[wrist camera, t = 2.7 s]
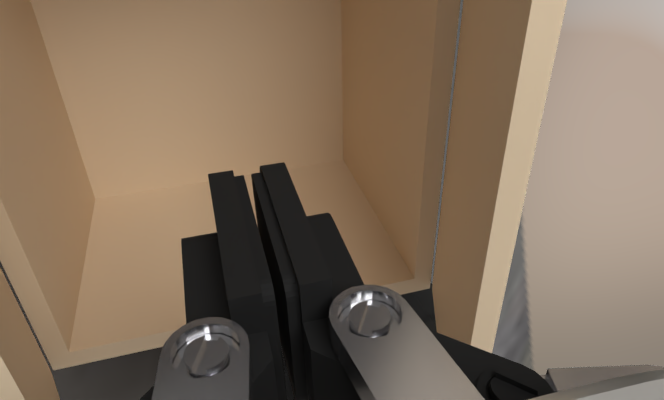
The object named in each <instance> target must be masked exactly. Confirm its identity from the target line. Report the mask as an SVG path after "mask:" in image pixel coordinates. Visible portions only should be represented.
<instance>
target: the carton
mask: <svg viewBox="0 0 664 400" xmlns="http://www.w3.org/2000/svg"><path fill="white" fill-rule="evenodd" d="M459 10H460V0H0V261H1V263H2V265H3V267H4V269H5V272H6V274H7V276H8V278H9V280H10V282H11V284H12V286H13V288H14V290H15V292H16V294H17V296H18V298H19V300H20V303H21V305H22V307H23V309H24V311H25V313H26V315H27V317H28V319H29V321H30V323H31V325H32V327H33V329H34V332H35V334H36V336H37V338H38V340H39V342H40V344H41V346H42V348H43V350H44V352H45V354H46V356H47V358H48V360H49V363H50V365H51V367H52V369H53V370H58V369H62V368H67V367H72V366H76V365H81V364H85V363H90V362H95V361H99V360H104V359H108V358H113V357H117V356H122V355H127V354H131V353H136V352H140V351H145V350H150V349H154V348H159V347H163V346H164V343H165V342H166V341H167V339H168V338H169V337H170V336H171V334H172V333H174V332H175V331H176V330H178V329H179V328H180V327H182V326H183V325H185V324H186V313H185V297H184V280H183V264H182V248H181V239H182V238H187V237H193V236H198V235H204V234H210V233H215V232H217V230H216V223H215V217H214V211H213V204H212V198H211V191H210V185H209V179H208V174H211V173H217V172H224V171H230V170H233V173H234V176H241V175H244V178H245V182H246V185H247V189H248V193H249V197H250V200H251V204H252V208H253V212H254V215H255V219H256V223H257V218H256V210H255V202H254V194H253V186H252V178H251V174H253V173H260V166H262V165H269V164H275V163H282V162H284V163H285V164H286V167H287V169H288V172H289V174H290V177H291V179H292V182H293V184H294V186H295V189H296V191H297V194H298V196H299V199H300V201H301V204H302V206H303V209H304V211H305V213H306V216H311V215H317V214H322V213H330V214H331V216H332V218H333V220H334V222H335V224H336V226H337V228H338V230H339V232H340V235H341V237H342V239H343V241H344V243H345V245H346V247H347V249H348V251H349V253H350V256H351V258H352V260H353V262H354V264H355V266H356V268H357V270H358V272H359V274H360V276H361V279H362V281H363V283H364V285H378V286H383V287H387V288H389V289H391V290H393V291H395V292H397V293H399V294H400V295H402V294H407V293H411V292H416V291H420V290H425V289H429V288H430V282H431V273H432V263H433V254H434V245H435V235H436V226H437V216H438V207H439V198H440V188H441V179H442V169H443V160H444V151H445V141H446V132H447V122H448V113H449V104H450V94H451V85H452V76H453V66H454V57H455V47H456V38H457V29H458V19H459ZM257 227H258V226H257Z"/></svg>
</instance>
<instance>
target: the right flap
mask: <svg viewBox="0 0 664 400" xmlns="http://www.w3.org/2000/svg"><path fill="white" fill-rule="evenodd" d="M566 4H567V0H464V1H463V10H462V19H461V28H460V37H459V46H458V55H457V65H456V74H455V83H454V92H453V101H452V110H451V119H450V128H449V138H448V147H447V156H446V165H445V174H444V183H443V192H442V202H441V211H440V220H439V229H438V238H437V247H436V256H435V265H434V275H433V284H432V293H433V302H434V311H435V320H436V330H437V333H440V334H442V335H445V336H448V337H450V338H453V339H455V340H458V341H461V342H463V343H466V344H469V345H471V346H474V347H476V348H479V349H482V350H484V351H487V352H490V353H492V350H493V345H494V340H495V336H496V331H497V326H498V322H499V317H500V312H501V308H502V303H503V298H504V294H505V289H506V284H507V280H508V275H509V270H510V266H511V261H512V256H513V252H514V247H515V242H516V238H517V233H518V228H519V224H520V219H521V214H522V210H523V205H524V200H525V195H526V191H527V186H528V182H529V177H530V172H531V167H532V163H533V158H534V153H535V149H536V144H537V139H538V135H539V130H540V125H541V121H542V116H543V111H544V107H545V102H546V97H547V93H548V88H549V83H550V79H551V74H552V69H553V64H554V60H555V55H556V51H557V46H558V41H559V37H560V32H561V27H562V23H563V18H564V13H565V8H566Z"/></svg>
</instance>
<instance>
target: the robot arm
mask: <svg viewBox="0 0 664 400" xmlns="http://www.w3.org/2000/svg"><path fill="white" fill-rule="evenodd" d="M251 178H252V186H253V194H254V202H255V210H256V218H257V223H256V219H255V215H254V212H253V208H252V204H251V200H250V197H249V193H248V189H247V185H246V182H245V178H244V175H241V176H234V173H233V170H230V171H224V172H217V173H211V174H208V179H209V185H210V191H211V198H212V204H213V211H214V217H215V223H216V230H217V232H215V233H210V234H204V235H198V236H193V237H187V238H182V239H181V248H182V264H183V280H184V297H185V313H186V324H185V325H183V326H182V327H180V328H179V329H178V330H176V331H175V332H174V333H172V334H171V336H170V337H169V338H168V339H167V341H166V342H165V343H164V346H163V348H162V351H161V353H160V358H159V363H158V369H157V374H156V379H155V385H154V386H153V387H152V388H151V389H150V390H149V391H148V392H147V393H146V394H145V395H144V396H143V397H142V398H141V399H140V400H287V395H286V386H285V377H284V369H283V360H282V351H281V346H282V350H283V354H284V358H285V362H286V366H287V370H288V374H289V378H290V382H291V386H292V390H293V394H294V398H295V400H664V367H661V366H651V365H632V366H631V365H630V366H603V367H575V368H548V370H547V373H546V375H539V374H537V373H536V372H535V371H533V370H531V369H529V368H527V367H525V366H523V365H521V364H519V363H516V362H513V361H511V360H508V359H505V358H503V357H500V356H498V355H495V354H492V353H490V352H487V351H484V350H482V349H479V348H476V347H474V346H471V345H469V344H466V343H463V342H461V341H458V340H455V339H453V338H450V337H448V336H445V335H442V334H440V333H437V332H434V331H432V330H429V329H428V327H427V326H426V325H425V324H424V322H423V321H422V320H421V319H420V317H419V316H418V315H417V314H416V312H415V311H414V310H413V309H412V307H411V306H410V305H409V304H408V302H407V301H406V300H405V299H404V298H403V297H402V296H401V295H400V294H399V293H397V292H395V291H393V290H391V289H389V288H387V287H383V286H378V285H364V283H363V281H362V279H361V276H360V274H359V272H358V270H357V268H356V266H355V264H354V262H353V260H352V258H351V256H350V253H349V251H348V249H347V247H346V245H345V243H344V241H343V239H342V237H341V235H340V232H339V230H338V228H337V226H336V224H335V222H334V220H333V218H332V216H331V214H330V213H322V214H317V215H311V216H306V213H305V211H304V209H303V206H302V204H301V201H300V199H299V196H298V194H297V191H296V189H295V186H294V184H293V182H292V179H291V177H290V174H289V172H288V169H287V167H286V164H285V163H284V162H282V163H275V164H269V165H262V166H260V173H253V174H251ZM257 226H258V227H257Z"/></svg>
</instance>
